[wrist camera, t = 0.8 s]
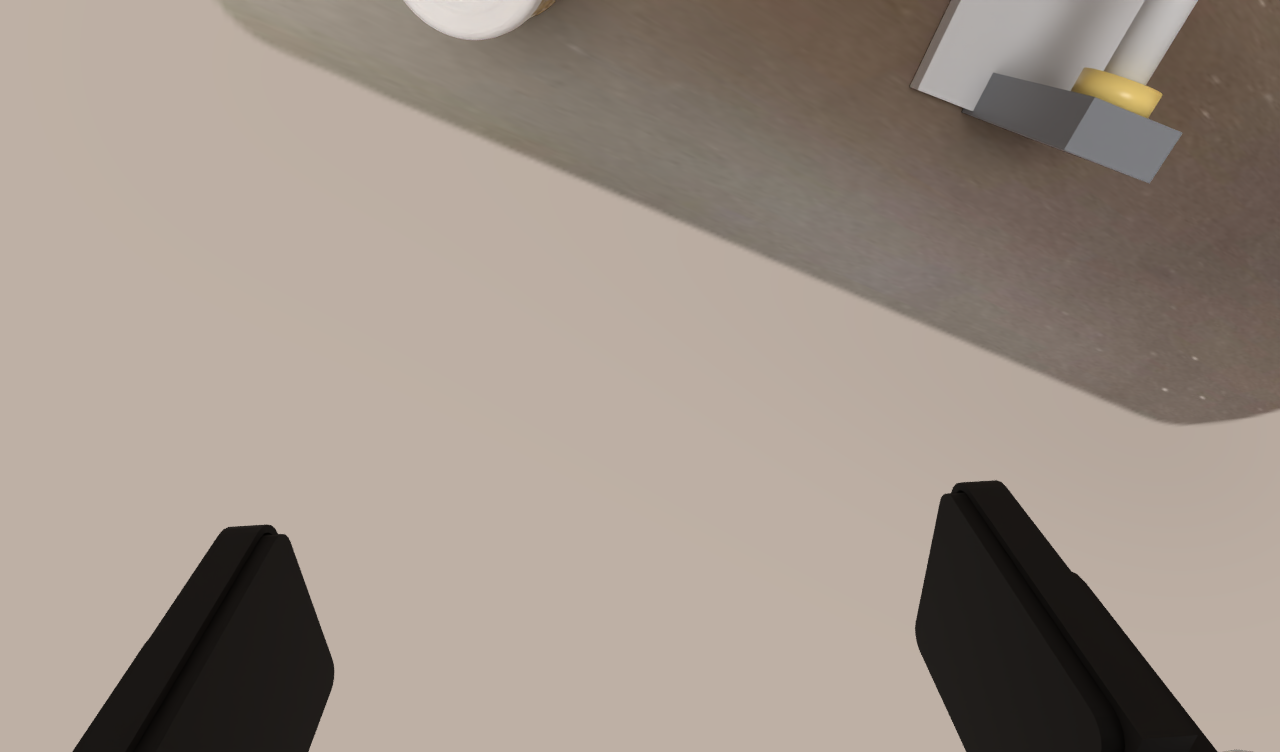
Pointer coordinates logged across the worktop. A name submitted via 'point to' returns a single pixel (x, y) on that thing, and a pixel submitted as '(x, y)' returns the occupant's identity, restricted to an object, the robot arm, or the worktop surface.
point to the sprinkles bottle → (476, 16)
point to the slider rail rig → (1061, 73)
